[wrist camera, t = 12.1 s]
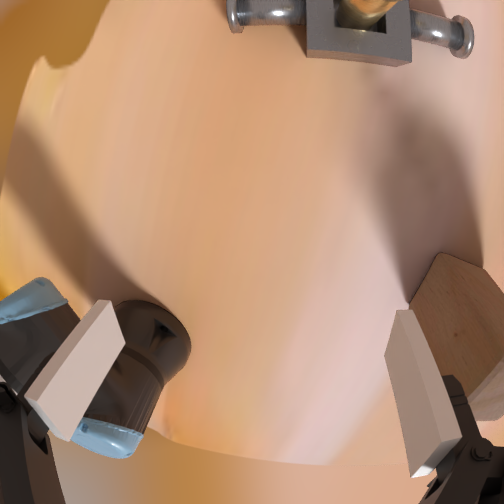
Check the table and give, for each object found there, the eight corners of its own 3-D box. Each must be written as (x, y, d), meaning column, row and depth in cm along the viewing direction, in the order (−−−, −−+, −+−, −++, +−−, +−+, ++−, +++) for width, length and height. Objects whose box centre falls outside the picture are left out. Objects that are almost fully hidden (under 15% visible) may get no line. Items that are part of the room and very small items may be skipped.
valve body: (238, 57, 30) (226, 50, 25) (237, -18, 25) (226, -36, 20) (452, 79, 26) (475, 78, 21) (449, 5, 22) (469, -6, 17)
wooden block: (437, 247, 36) (506, 354, 18) (486, 268, 36) (553, 363, 18) (404, 307, 41) (441, 423, 23) (453, 321, 41) (497, 424, 23)
